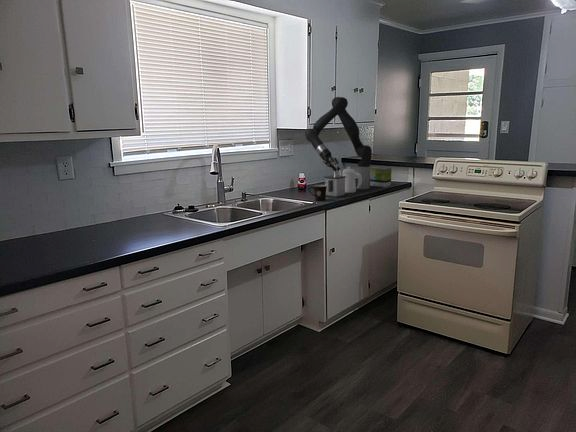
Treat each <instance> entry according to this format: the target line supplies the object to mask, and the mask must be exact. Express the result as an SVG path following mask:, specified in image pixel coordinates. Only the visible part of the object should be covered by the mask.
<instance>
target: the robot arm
mask: <svg viewBox="0 0 576 432" xmlns="http://www.w3.org/2000/svg"><path fill="white" fill-rule="evenodd" d="M348 105H349V103H348V99H347V98H346V97H341V96H335V97H334V98H332V100H331V107H332V108H331V109H330V110H328V111H327V112H326V113H324V114H323V115H322V116H320V117H319V118H318V119H317V120H316V121H315V122H314V124H313V127H312V128H308V129H306V130H305V133H304V135H305V138H306V140H307V141H309V142H310V143H311V146H312V147H313V148H314V151H316V152H317V154H318V156H319V157H320V158H321V160H323V161H322V162H323V164H325V165H326V166H327V167H328V168H331V169H332V170H333V172H334V171H336V172H337V171H338V172H339V170H340V171H341V168H340V167H339V164H340V163H339V161H338V159H337V157H333V156H332V152H331V151H330V150H329V148H328V147H327V146H326V145H325V143H324V142H323V141H322V140H321V139H320V138H319V134H321V132H322V131H323V130H324V129H325V127H327V125H328V124H329V123H330V122H332V120H333V119H334V118H336V117H337V116H338V118H339V120H340V122H341V124H342V125H343V128H344V130H345V132H346V134H347V136H348V137H349V139H350V141H351V143H352V145H353V148H354V151H355V153H356V155H357V156H358V157H359V158H361V160H360V161H359V162H357V173H359V174H360V175H361V177H362V183H361V185H360V184H359V177H360V175H359V174H358V175H359V177H358V175H357V185H358V184H359V185H360V186H359V187H358V188H357V189H359V190H369V189H370V188H371V186H370V168H371V164H372V155H373V150H372V147H371V146H370V145H367V144H366V145H365V144H363V142H362V140H361V139H360V129H359V126H358V124H357V122H356V120H355V119H354V118H353V117H352V116H351V115H350V114H349V112H348V111H347V109H346V108H347V107H348ZM333 165H338V169H336V167H335V166H333ZM360 182H361V178H360Z"/></svg>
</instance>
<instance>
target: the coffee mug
mask: <svg viewBox="0 0 576 432" xmlns="http://www.w3.org/2000/svg"><path fill="white" fill-rule="evenodd" d="M326 188H327V185H325V184H314V185H313V186H310V187H309V188H308V192H309V193H310V194H311V195H312V196H313V197H314V198H315V201H316V202H325V201H326V198H327V197H326ZM310 189H313V192H314V193H313V192H311V190H310Z"/></svg>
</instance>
